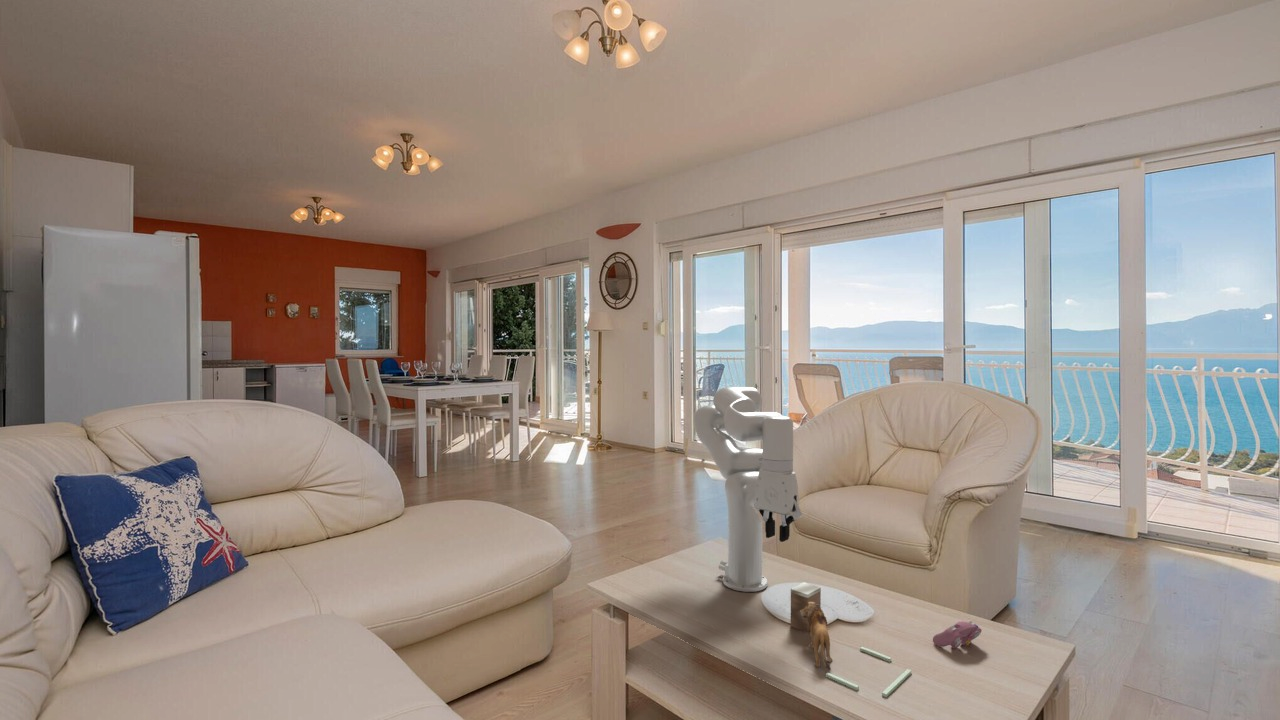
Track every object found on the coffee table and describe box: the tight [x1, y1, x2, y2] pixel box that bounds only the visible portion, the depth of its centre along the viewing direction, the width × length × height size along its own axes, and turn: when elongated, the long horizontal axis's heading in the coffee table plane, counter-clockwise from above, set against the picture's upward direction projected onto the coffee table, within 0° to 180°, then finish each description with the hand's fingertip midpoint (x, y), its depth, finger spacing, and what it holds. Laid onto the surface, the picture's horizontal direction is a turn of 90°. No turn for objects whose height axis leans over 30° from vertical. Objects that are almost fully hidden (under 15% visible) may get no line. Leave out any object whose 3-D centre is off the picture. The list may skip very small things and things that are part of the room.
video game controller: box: [932, 620, 982, 649], centre depth 129 cm, size 10×5×7 cm, turn 114°
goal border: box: [825, 646, 912, 698], centre depth 118 cm, size 11×16×1 cm
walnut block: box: [790, 581, 822, 633], centre depth 139 cm, size 4×6×9 cm
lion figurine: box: [800, 602, 833, 671], centre depth 126 cm, size 15×5×9 cm, turn 0°
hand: (777, 537), depth 145 cm, fingers open, 3 cm apart
